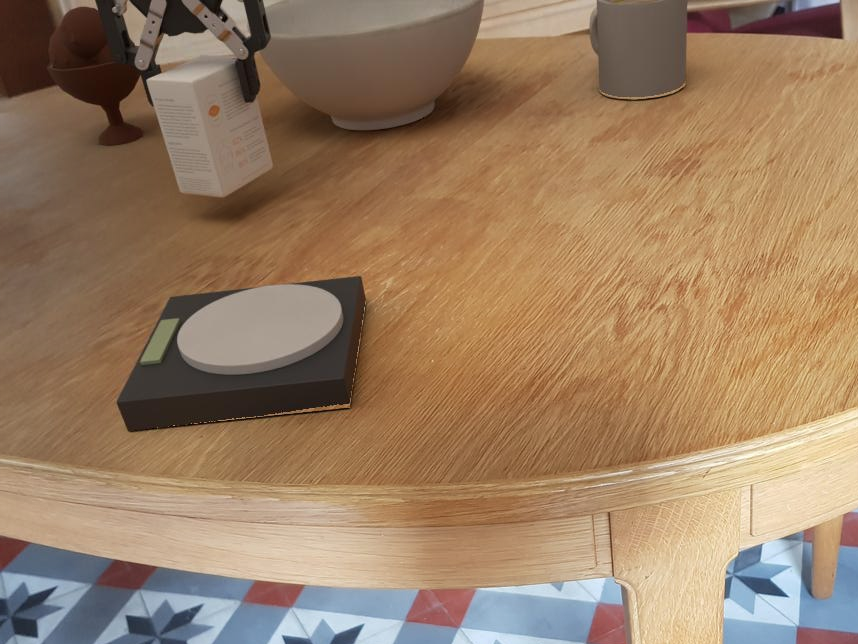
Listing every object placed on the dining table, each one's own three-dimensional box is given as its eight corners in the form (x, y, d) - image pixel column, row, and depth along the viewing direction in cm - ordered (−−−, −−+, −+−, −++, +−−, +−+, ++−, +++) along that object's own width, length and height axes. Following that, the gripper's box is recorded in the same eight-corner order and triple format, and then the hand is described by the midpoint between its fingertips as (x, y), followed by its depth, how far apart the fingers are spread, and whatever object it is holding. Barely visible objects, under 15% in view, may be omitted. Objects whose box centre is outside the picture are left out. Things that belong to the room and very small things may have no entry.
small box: (231, 164, 95) (202, 53, 89) (275, 168, 93) (249, 54, 87) (178, 194, 90) (143, 78, 84) (223, 199, 88) (191, 80, 81)
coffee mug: (702, 87, 108) (705, -10, 102) (626, 106, 106) (625, 8, 100) (641, 64, 118) (641, -25, 112) (570, 81, 116) (566, -9, 110)
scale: (127, 432, 63) (111, 391, 61) (179, 323, 75) (166, 287, 73) (350, 408, 62) (341, 367, 60) (366, 303, 74) (359, 265, 72)
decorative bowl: (264, 104, 122) (240, 2, 115) (465, 67, 126) (453, -34, 118) (282, 170, 101) (253, 50, 94) (522, 124, 105) (512, 4, 97)
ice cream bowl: (183, 123, 119) (144, -8, 110) (124, 155, 111) (77, 17, 102) (119, 121, 123) (77, -5, 114) (57, 151, 115) (7, 18, 106)
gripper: (248, -116, 80) (289, 86, 90) (82, -97, 81) (142, 101, 90) (231, -106, 74) (278, 109, 84) (52, -86, 75) (120, 126, 84)
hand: (207, 105), depth 87 cm, fingers closed on small box, 7 cm apart
